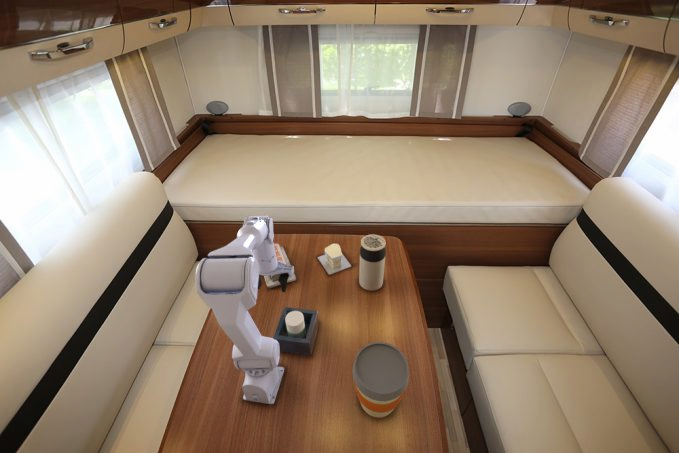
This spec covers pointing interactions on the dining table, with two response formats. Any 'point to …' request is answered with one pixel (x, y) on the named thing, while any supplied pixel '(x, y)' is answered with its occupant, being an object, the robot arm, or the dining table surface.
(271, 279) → the packaged product
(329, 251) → the stacked layers on plate
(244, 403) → the dining table surface
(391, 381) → the reusable coffee cup
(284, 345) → the open box
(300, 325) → the paper roll
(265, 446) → the dining table surface
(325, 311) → the dining table surface
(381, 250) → the travel mug
